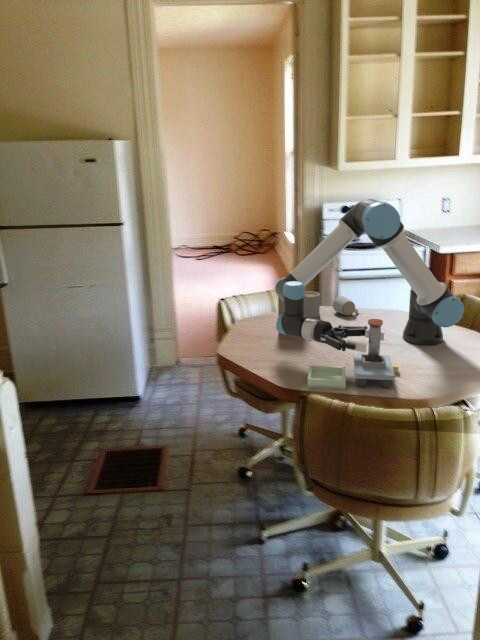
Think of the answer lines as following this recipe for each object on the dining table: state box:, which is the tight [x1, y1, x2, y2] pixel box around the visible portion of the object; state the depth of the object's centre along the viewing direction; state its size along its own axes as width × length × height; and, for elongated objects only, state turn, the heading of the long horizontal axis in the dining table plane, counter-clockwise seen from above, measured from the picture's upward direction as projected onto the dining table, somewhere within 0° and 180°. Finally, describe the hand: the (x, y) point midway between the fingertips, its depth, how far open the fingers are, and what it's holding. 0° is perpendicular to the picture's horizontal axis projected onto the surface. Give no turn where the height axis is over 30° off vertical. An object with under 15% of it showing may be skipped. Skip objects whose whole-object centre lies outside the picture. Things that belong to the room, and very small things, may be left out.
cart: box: [353, 353, 399, 389], centre depth 186 cm, size 15×18×7 cm
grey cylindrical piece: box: [305, 290, 321, 319], centre depth 258 cm, size 13×10×10 cm
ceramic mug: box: [332, 295, 359, 317], centre depth 258 cm, size 11×8×8 cm
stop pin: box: [367, 318, 384, 362], centre depth 184 cm, size 5×5×15 cm
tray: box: [307, 364, 347, 391], centre depth 186 cm, size 12×12×3 cm
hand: (375, 342), depth 183 cm, fingers open, 13 cm apart
